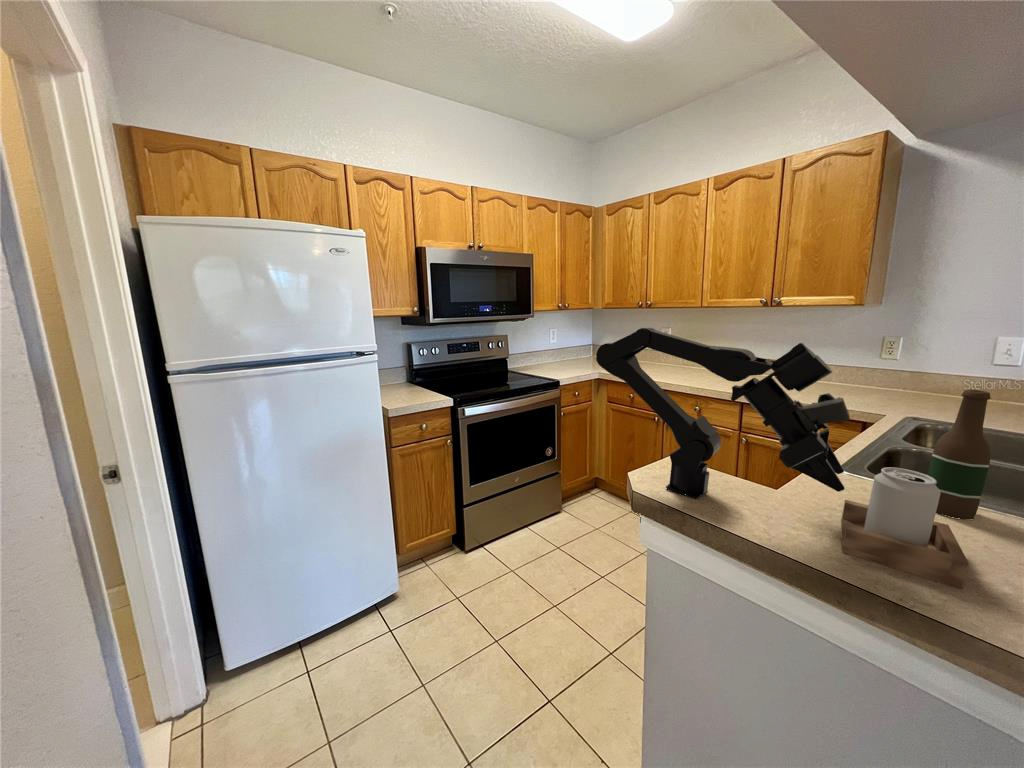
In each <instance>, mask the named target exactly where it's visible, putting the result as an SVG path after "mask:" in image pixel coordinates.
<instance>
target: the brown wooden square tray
mask: <svg viewBox="0 0 1024 768" xmlns="http://www.w3.org/2000/svg"><path fill="white" fill-rule="evenodd" d="M868 506H869V504H864V503H860V502H856V501H852V500H848V499H845V500H844V503H843V509H842V514H841V521H840V523H841V530H840V531H841V553H844V554H848V555H851V556H853V557H857V558H859V559H863V560H867V561H870V562H873V563H876V564H880V565H883V566H886V567H889V568H893V569H897V570H900V571H903V572H906V573H909V574H913V575H916V576H919V577H921V578H925V579H929V580H932V581H935V582H938V583H942V584H944V585H945V584H946V585H948V586H952V587H955V588H957V589H963V586H964V583H965V578H966V575H967V571H968V568H969V565H970V563H969V560H968V558H967V557H966V556H965V553H964V552H963V550H962V548H961V546H960V544H959V542H958V540H957V538H956V536H955V534H954V533H953V531H952V529H951V527H950V525H949V524H945V523H941V522H937V521H934V522H933V526H932V531H931V535H930V539H929V543H928V547H924V546H920V545H917V544H913V543H909V542H906V541H902V540H898V539H895V538H891V537H887V536H884V535H880V534H876V533H873V532H869V531H866V530H864V525H865V521H866V516H867V511H868Z"/></svg>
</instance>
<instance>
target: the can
mask: <svg viewBox="0 0 1024 768" xmlns="http://www.w3.org/2000/svg"><path fill="white" fill-rule="evenodd" d="M936 483H937V481H936V480H935V479H934V478H932V477H930V476H928V474H925V473H921V472H920V471H915V470H910V469H906V468H901V467H893V466H892V467H891V466H890V467H887V466H886V467H883V468H881V469H880V473H877V474H875V475H874V477H873V483H872V488H871V492H870V498H869V501H868V502H869V503H868V505H869V506H868V511H867V516H866V521H865V525H864V530H866V531H869V532H873V533H876V534H880V535H884V536H887V537H891V538H895V539H898V540H902V541H906V542H909V543H913V544H917V545H920V546H924V547H928V543H929V539H930V535H931V531H932V526H933V522H935V517H936V514H937V513H936V510H937V506H938V502H939V498H940V490H939V489H938V488H937V487H936V485H935V484H936Z"/></svg>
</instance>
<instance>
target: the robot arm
mask: <svg viewBox="0 0 1024 768" xmlns="http://www.w3.org/2000/svg"><path fill="white" fill-rule="evenodd" d="M645 349H651V350H653V351H657V352H660V353H663V354H667V355H669V356H673V357H676V358H679V359H682V360H686V361H688V362H692V363H695V364H697V365H699V366H702V367H703V368H705V369H707V370H708V371H709V372H711V373H712V374H714V375H716V376H718V377H720V378H722V379H723V380H726V381H728V382H734V383H735V382H737V383H738V382H741V381H743V380H746V379H748V378H749V377H751V376H762V375H764V374H766V373H767V372H769V371H770V370H772V371H773V372H771V373H770V374H768V375H767V376H765V377H763V378H762V379H760V380H759V378H757V377H752V378H751V379H750V380H747V382H745V383H743V384H741V385H737V384H736V385H735V384H734V385H733V386H731V389H732V391H731V392H732V393H731V397H730V401H731V402H735V401H737V400H738V399H740V398H742V397H743V398H744V399H745V400H746V401H747V402H748V403H749V404H750V406H751V407H752V408H753V409H754V410H755V411H756V412H757V414H758V415H759V416H760V417H761V418H762V424H763V425H764V426H765V427H767V428H768V427H769V428H771V430H772V431H773V432H774V433H775V434H776V436H777V437H778V438H779V440H778V442H779V444H780V445H781V449H780V451H779V460H780V461H781V463H783V465H784V466H785V467H786V468H787V469H788V468H790V469H791V470H793V471H794V470H795V471H797V472H799V473H801V474H803V475H806V476H808V477H809V478H812V479H813V480H815V481H817V482H819V483H820V484H823V485H825V486H826V487H828V488H830V489H832V490H833V491H836V492H842V491H844V490H845V489H846V488H845V487H846V486H844V484H843V482H842V480H841V479H840V478H839V476H838V475H841V474H843V473H844V472H845V470H844V468H843V466H842V465H841V463H840V461H839V459H838V457H837V455H836V454H835V453H834V451H833V448H832V446H831V445H830V443H829V437H830V436H829V435H830V428H829V427H828V426H829V424H830V423H835V422H838V423H842V422H846V421H850V420H851V417H850V413H849V411H848V407H847V405H846V402H845V400H844V398H843V397H840V396H839V397H837V398H836V397H834V395H832V394H830V393H829V392H828V393H823V394H819V395H818V399H817V402H812V403H811V404H807V405H803V404H802V403H801V401H800V400H796V399H794V400H793V399H792V397H791V396H790V395H789V394H788V393H787V392H786V391H790V392H791V391H793V390H795V391H797V392H798V393H799V392H800V393H801V392H803V390H805V389H807V388H809V387H810V386H812V385H814V384H815V383H817V382H819V381H820V380H822V379H824V378H825V377H827V376H829V375H830V374H832V373H833V371H832V370H831V368H830V366H828V364H827V363H826V362H825V361H824V360H823V359H822V357H820V356H819V355H818V354H815V353H814V351H812V350H811V349H810V348H809V347H807V346H806V345H805V344H804V343H803V342H800V343H797V345H795V346H793V347H792V348H791V349H790V350H789V351H788V352H786V353H785V354H783V355H782V356H781V357H778V358H777V359H775V360H774V359H770V358H762V357H758V356H756V355H755V353H754V352H752V351H751V350H749V349H746V348H740V347H739V348H738V347H730V346H729V347H728V346H716V345H708V344H705V343H701V342H698V341H695V340H691V339H688V338H687V339H686V338H684V337H680V336H677V335H673V334H670V333H666V332H662V331H659V330H656V329H655V328H652V327H641V328H638V329H637V330H636V331H635V332H633V333H631V334H629V335H626V336H624V337H622V338H621V339H618V340H616V341H614V342H608V343H603V344H601V345H600V346H599V347H598V348H597V351H596V355H595V361H596V363H597V365H598V366H599V367H601V368H602V369H603V370H604V371H606V372H607V373H608V374H610V375H612V376H614V377H616V378H618V379H620V380H622V381H624V383H626V384H627V385H628V387H630V389H632V391H634V393H636V394H637V395H638V397H639V398H640V399H641V400H642V401H643V402H644V403H645V404H646V405H647V406H648V407H649V408H650V409H651V410H652V411H653V412H654V413H655V414H656V415H657V416H658V417H659V418H660V419H661V420H662V421H663V422H664V423H665V424H666V426H668V428H669V429H670V430H671V432H672V434H673V436H674V439H675V442H676V443H677V446H678V448H676V449H675V450H674V451H673V452H672V453H670V454H669V457H670V462H671V465H670V473H669V474H670V476H669V483H668V484H667V485H666V487H665V489H666V488H667V489H666V490H668V489H669V490H668V491H671V490H672V491H671V492H674V491H675V492H674V493H677V492H679V493H678V494H680V493H682V494H681V495H683V494H686V495H688V496H687V497H689V496H691V497H690V498H692V497H695V498H694V499H696V498H698V497H699V496H700V495H701V494H702V495H704V494H705V493H706V492H707V491H708V489H709V487H708V486H709V479H710V472H709V471H708V465H709V464H708V463H705V462H707V461H710V460H711V458H712V457H713V456H714V455H715V454H716V453H717V452H718V451H719V449H720V448H721V446H722V438H721V436H720V435H719V433H718V432H717V431H718V430H719V429H718V428H717V427H715V426H714V425H712V424H711V423H710V422H709V421H708V419H707V417H705V416H704V415H700V416H699V417H698V418H695V417H694V416H692V415H690V414H688V413H687V412H686V411H685V409H683V408H682V407H681V406H680V405H679V404H678V403H677V402H676V401H675V400H674V399H673V398H672V397H671V396H670V395H669V394H668V393H667V392H666V391H665V390H664V389H663V388H662V387H661V386H659V384H657V382H656V381H655V380H654V379H652V377H651V376H650V375H649V374H647V373H646V371H645V370H643V368H642V367H641V365H640V363H639V360H638V358H637V356H636V355H637V354H639V353H641V352H642V351H644V350H645ZM773 377H775V379H776V380H777V381H778V382H777V381H776V380H775V379H774V378H773ZM779 383H780V384H779ZM780 385H781V386H780ZM782 387H783V388H785V389H786V391H785V390H784V389H783V388H782ZM821 429H823V430H822V431H820V430H821ZM686 495H685V496H686ZM702 495H701V496H702ZM701 496H700V497H701ZM700 497H699V498H700ZM699 498H698V499H699Z"/></svg>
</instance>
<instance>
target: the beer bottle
mask: <svg viewBox="0 0 1024 768" xmlns="http://www.w3.org/2000/svg"><path fill="white" fill-rule="evenodd" d="M961 396H962V400H961V403H960V406H959V409H958V411H957V415H956V418H955V422H954V423H953V425H952V427H951V429H950V430H948V431H947V432H945V433H944V434H942V436H941V437H940V438H939V439H938V440H937V442H936V444H935V445H934V449H933V452H932V455H931V459H930V461H929V462H930V463H929V468H928V471H927V475H928V476H930V477H932V478H934V479H935V480H936V481H937V483H936V484H935V485H936V487H937V488H938V489H939V490H940V498H939V502H938V506H937V510H936V514H937V513H939V514H938V515H941V514H943V515H942V516H944V515H947V516H946V517H948V516H950V517H949V518H951V517H954V518H953V519H955V518H960V519H959V520H966V519H973V520H974V519H975V518H976V515H977V512H978V509H979V506H980V502H981V498H982V495H983V494H982V493H983V491H984V487H985V483H986V479H987V475H988V471H989V468H990V462H991V456H992V455H991V454H992V451H991V447H990V444H989V442H988V440H987V439H986V437H985V436H984V423H985V417H986V412H987V404H988V400H990V399H991V393H990V392H989V391H985V390H979V389H964V390H963V392H962V393H961Z"/></svg>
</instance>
